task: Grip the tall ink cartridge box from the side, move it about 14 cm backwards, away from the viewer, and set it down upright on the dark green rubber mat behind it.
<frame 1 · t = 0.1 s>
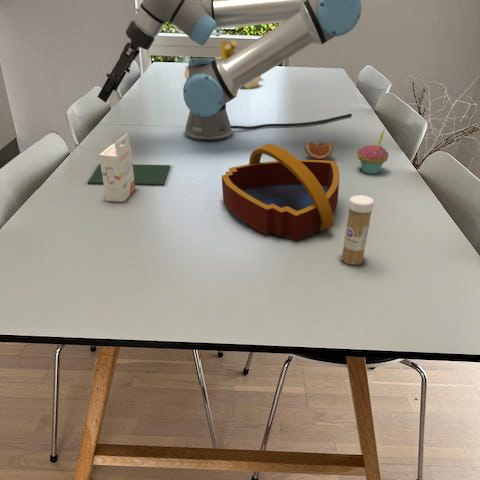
hand: (106, 93, 158), 15 cm above the table, tool tilted 35°, fingers open, 13 cm apart
campfire: (223, 82, 241), on the table
fruit slice: (317, 159, 160), on the table
ink cartridge box: (120, 196, 136), on the table
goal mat: (130, 175, 147), on the table
decorative basket: (283, 209, 131), on the table
cupcake: (369, 171, 153), on the table
sprinkles bottle: (352, 261, 111), on the table
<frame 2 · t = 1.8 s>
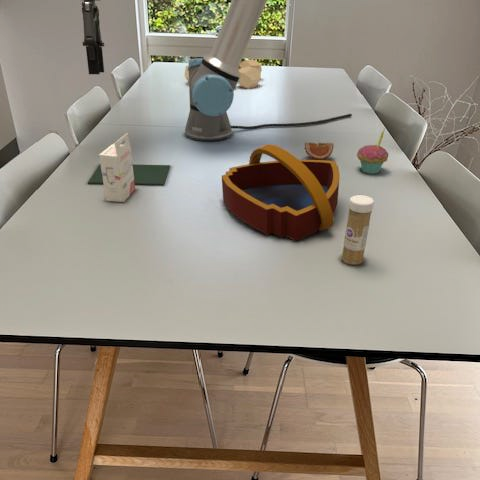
hand: (96, 73, 146), 23 cm above the table, tool pointing down, fingers open, 13 cm apart
nothing on the table moved.
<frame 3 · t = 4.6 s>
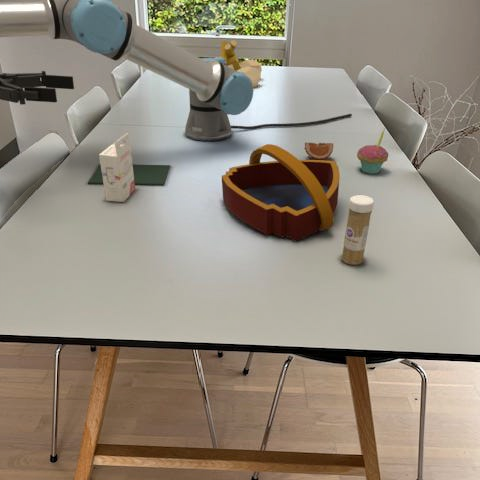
hand: (65, 88, 122), 25 cm above the table, tool horizontal, fingers open, 13 cm apart
nothing on the table moved.
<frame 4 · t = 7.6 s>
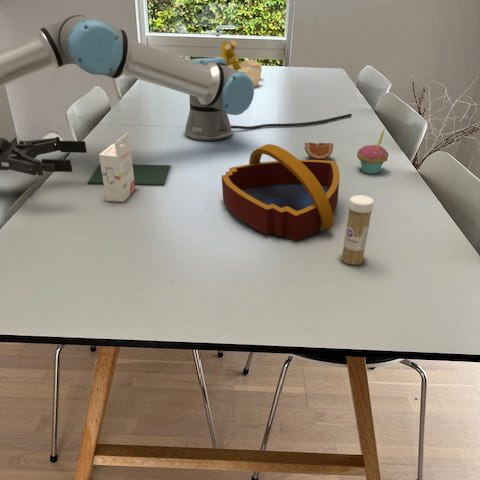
hand: (78, 156, 130), 10 cm above the table, tool horizontal, fingers open, 13 cm apart
nothing on the table moved.
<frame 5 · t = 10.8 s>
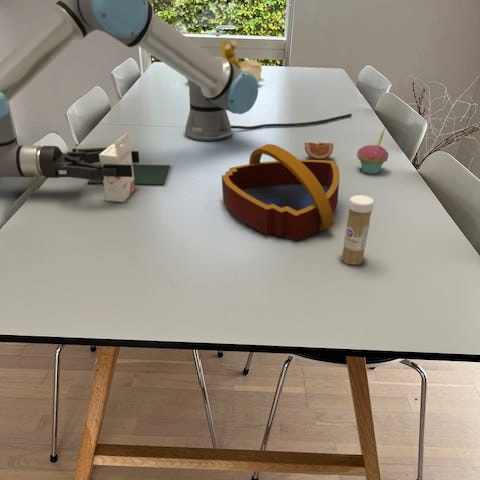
hand: (135, 163, 131), 8 cm above the table, tool horizontal, fingers closed on ink cartridge box, 9 cm apart
ink cartridge box: (120, 196, 136), on the table, touching gripper
everything else where it was.
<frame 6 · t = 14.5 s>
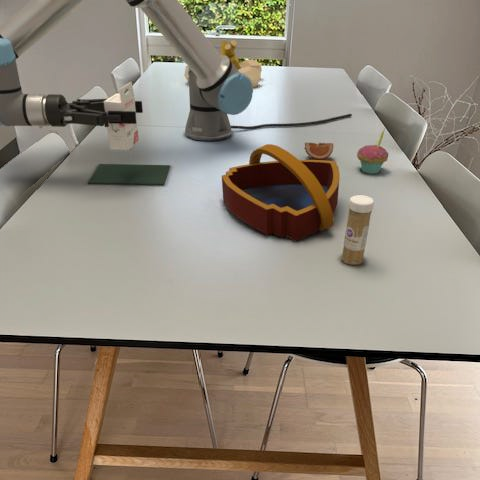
hand: (138, 112, 134), 18 cm above the table, tool horizontal, fingers closed on ink cartridge box, 9 cm apart
ink cartridge box: (124, 145, 139), point 9 cm above the table, touching gripper
everything else where it was.
when the fingers open (9 cm above the table, at t = 18.0 s): ink cartridge box stays where it is, resting on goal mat.
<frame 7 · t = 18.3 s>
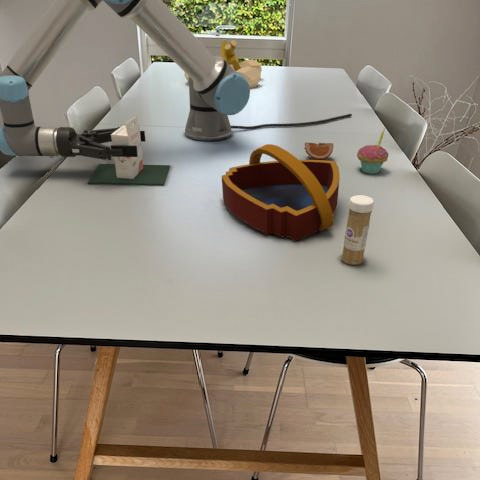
hand: (141, 143, 142), 9 cm above the table, tool horizontal, fingers open, 12 cm apart
ink cartridge box: (130, 174, 147), resting on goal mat
everything else where it was.
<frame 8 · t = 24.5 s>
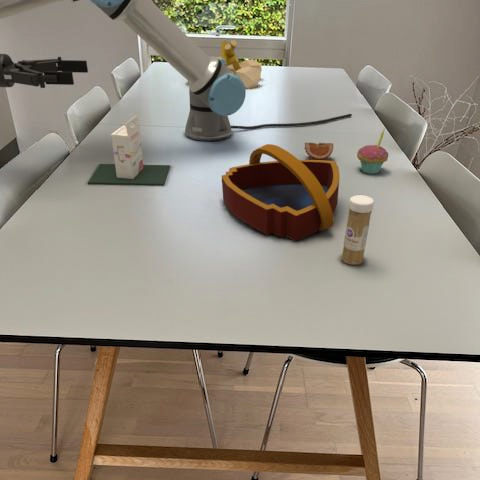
hand: (80, 72, 132), 26 cm above the table, tool horizontal, fingers open, 13 cm apart
nothing on the table moved.
at the end: ink cartridge box inside the target area on the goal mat (0.1 cm from its centre), point 0.3 cm above the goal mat's base; ink cartridge box tilted 0°; the gripper is holding nothing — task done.
